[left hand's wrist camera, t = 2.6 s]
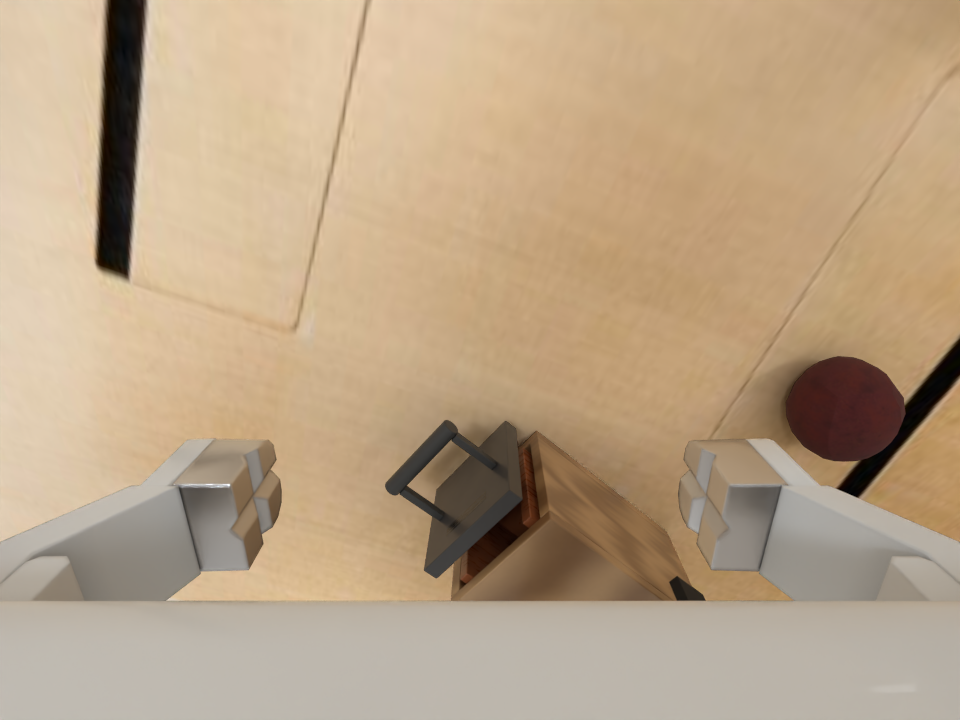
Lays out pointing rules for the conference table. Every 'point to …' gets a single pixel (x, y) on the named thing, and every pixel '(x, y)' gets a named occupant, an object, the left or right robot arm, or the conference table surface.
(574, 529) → the wooden drawer cabinet
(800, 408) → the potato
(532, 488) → the drawer
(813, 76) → the conference table surface
